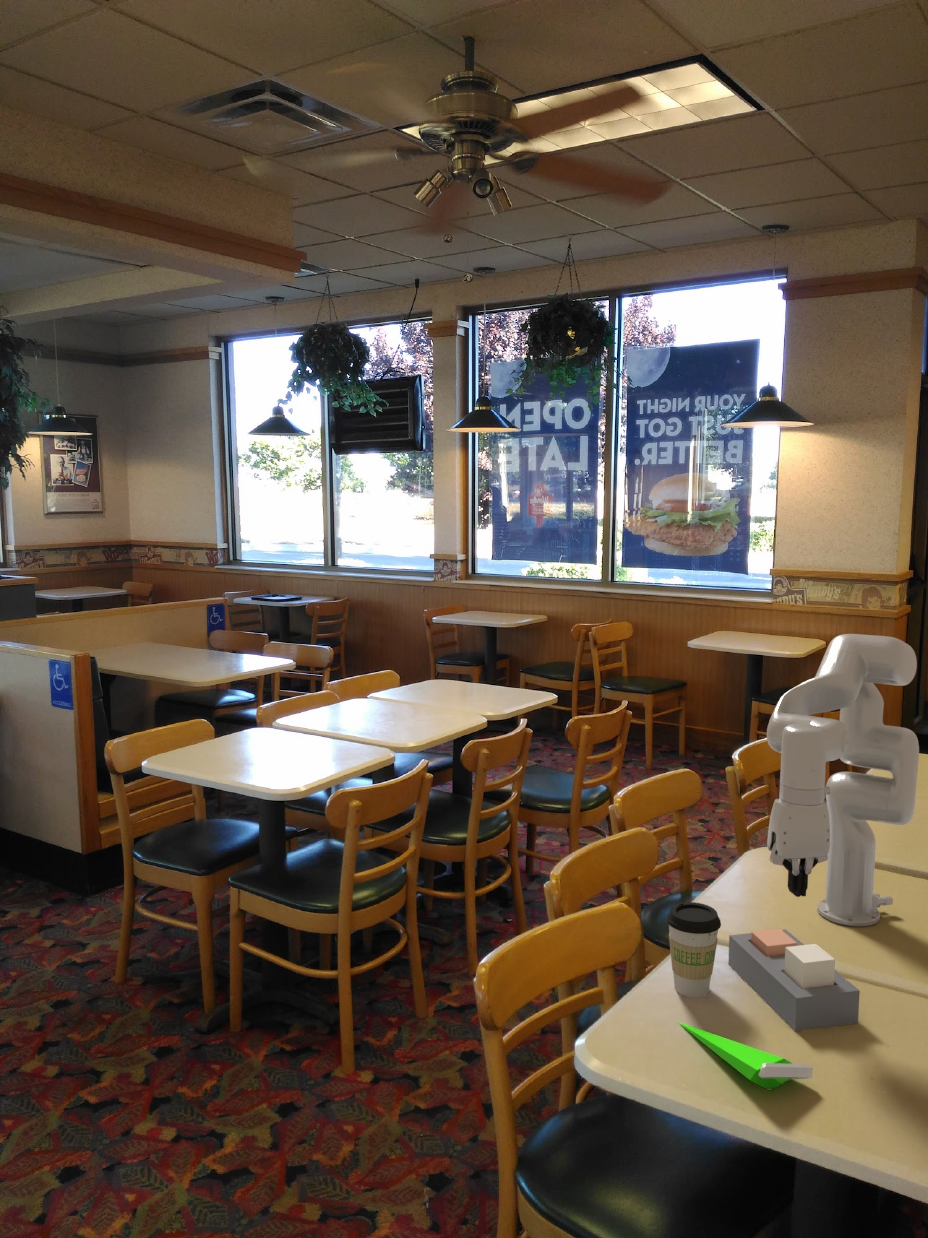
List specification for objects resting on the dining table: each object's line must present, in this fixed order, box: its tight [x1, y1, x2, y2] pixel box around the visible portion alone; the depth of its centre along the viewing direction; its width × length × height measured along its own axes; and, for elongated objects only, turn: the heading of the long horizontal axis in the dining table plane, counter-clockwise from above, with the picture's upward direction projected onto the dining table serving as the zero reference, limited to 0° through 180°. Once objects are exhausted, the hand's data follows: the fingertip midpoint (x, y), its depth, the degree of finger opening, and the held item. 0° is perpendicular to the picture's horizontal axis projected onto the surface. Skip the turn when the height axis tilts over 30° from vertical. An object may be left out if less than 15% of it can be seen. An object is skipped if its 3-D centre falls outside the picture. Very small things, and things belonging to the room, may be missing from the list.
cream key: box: [784, 943, 836, 989], centre depth 169 cm, size 6×6×6 cm
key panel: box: [728, 929, 860, 1032], centre depth 176 cm, size 12×24×6 cm, turn 12°
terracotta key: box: [750, 928, 797, 957], centre depth 181 cm, size 6×6×6 cm
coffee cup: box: [665, 901, 722, 998], centre depth 177 cm, size 10×10×15 cm
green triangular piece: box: [678, 1022, 814, 1090], centre depth 156 cm, size 11×5×25 cm
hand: (797, 893), depth 172 cm, fingers closed
